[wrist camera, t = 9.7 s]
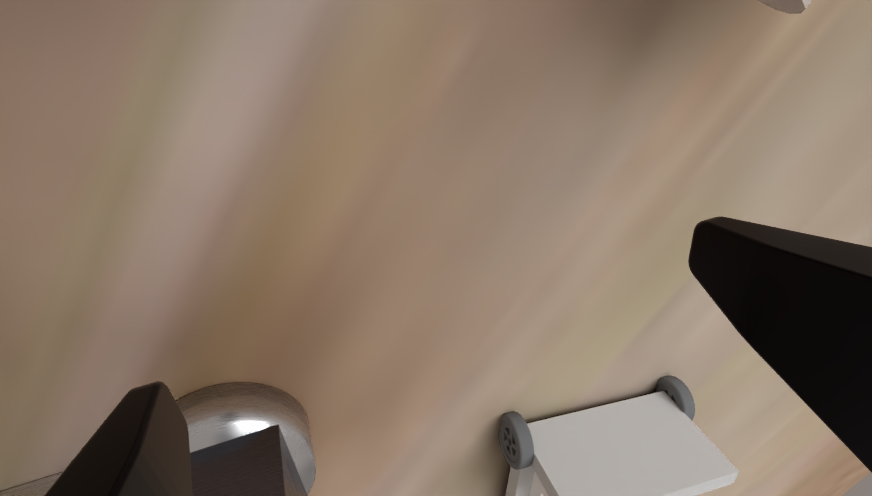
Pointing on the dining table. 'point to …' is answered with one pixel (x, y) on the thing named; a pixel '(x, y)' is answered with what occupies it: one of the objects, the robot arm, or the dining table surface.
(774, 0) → the pipe connector
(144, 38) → the dining table surface
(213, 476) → the dark grey block
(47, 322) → the dining table surface
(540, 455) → the toy car
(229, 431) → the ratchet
